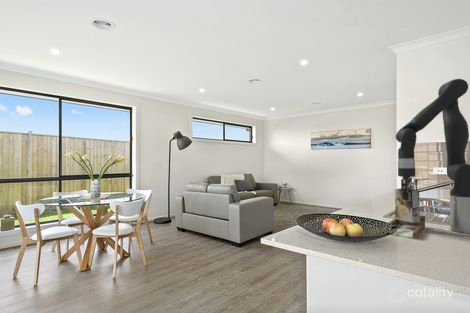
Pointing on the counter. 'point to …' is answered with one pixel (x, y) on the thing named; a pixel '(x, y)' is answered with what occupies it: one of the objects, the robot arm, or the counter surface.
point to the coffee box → (407, 206)
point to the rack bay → (406, 233)
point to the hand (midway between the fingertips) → (407, 198)
